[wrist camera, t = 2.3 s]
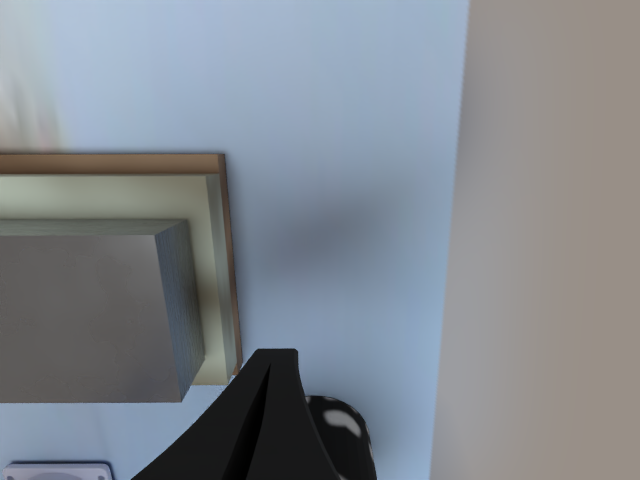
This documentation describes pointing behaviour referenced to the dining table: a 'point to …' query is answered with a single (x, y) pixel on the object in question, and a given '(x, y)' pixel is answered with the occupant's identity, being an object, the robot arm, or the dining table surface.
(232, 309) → the tan piece
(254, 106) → the dining table surface
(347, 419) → the white-spotted black cylinder
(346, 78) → the dining table surface
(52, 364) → the metal block
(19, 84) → the dining table surface
